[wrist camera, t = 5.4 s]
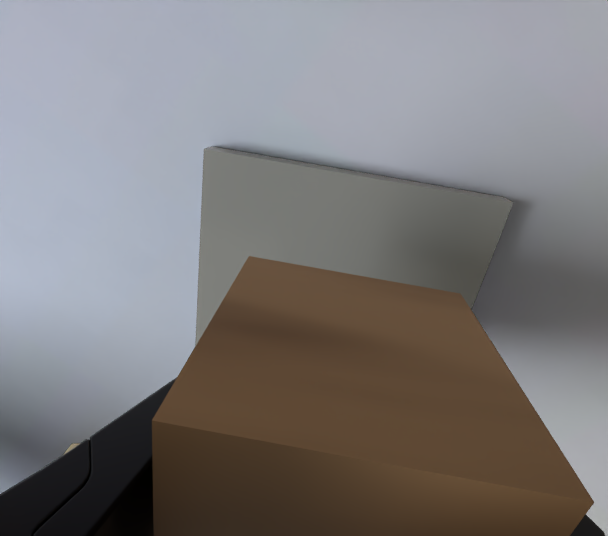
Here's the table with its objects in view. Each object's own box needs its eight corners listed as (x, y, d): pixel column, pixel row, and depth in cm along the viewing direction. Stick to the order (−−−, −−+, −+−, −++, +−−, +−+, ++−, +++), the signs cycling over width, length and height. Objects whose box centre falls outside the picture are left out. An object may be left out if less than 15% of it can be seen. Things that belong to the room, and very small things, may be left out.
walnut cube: (403, 445, 11) (451, 697, 6) (232, 414, 11) (154, 639, 6) (460, 293, 9) (594, 502, 4) (248, 256, 9) (152, 420, 4)
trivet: (433, 381, 16) (437, 394, 15) (201, 339, 16) (195, 350, 15) (503, 196, 13) (513, 202, 12) (211, 146, 13) (204, 149, 12)
